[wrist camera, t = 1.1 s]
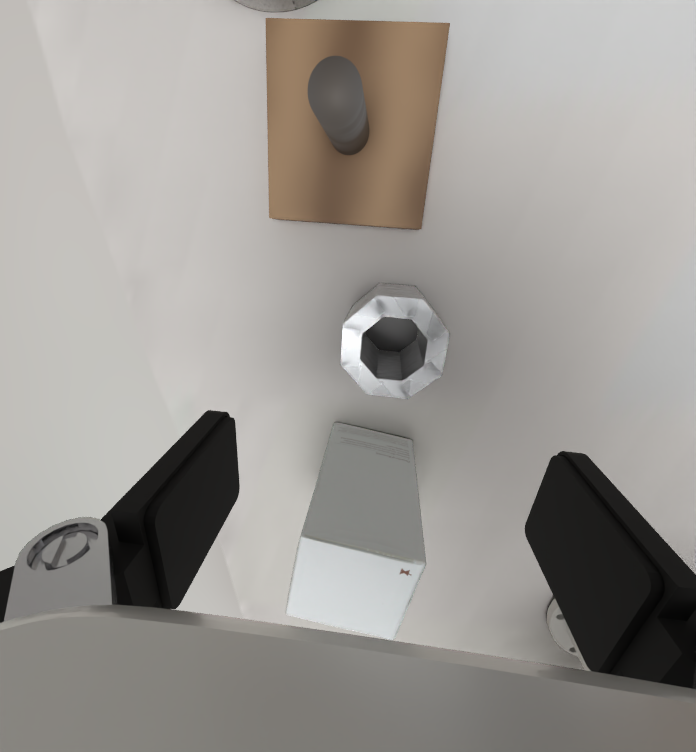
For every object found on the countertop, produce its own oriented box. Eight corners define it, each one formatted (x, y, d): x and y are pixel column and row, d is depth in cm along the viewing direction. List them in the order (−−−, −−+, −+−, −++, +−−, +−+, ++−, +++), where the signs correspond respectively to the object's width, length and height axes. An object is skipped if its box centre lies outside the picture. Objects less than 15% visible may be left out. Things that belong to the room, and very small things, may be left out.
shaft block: (444, 43, 20) (477, -74, 12) (418, 229, 24) (432, 225, 16) (276, 37, 20) (213, -75, 13) (278, 219, 24) (230, 211, 17)
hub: (441, 287, 25) (456, 302, 19) (427, 369, 27) (437, 402, 22) (354, 280, 25) (344, 292, 20) (348, 361, 28) (338, 391, 22)
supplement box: (333, 418, 30) (299, 533, 18) (414, 438, 30) (432, 566, 18) (319, 483, 33) (281, 617, 21) (393, 501, 33) (396, 646, 21)
